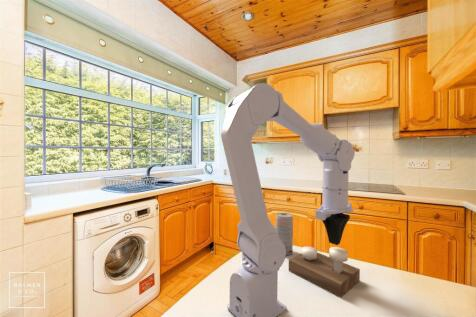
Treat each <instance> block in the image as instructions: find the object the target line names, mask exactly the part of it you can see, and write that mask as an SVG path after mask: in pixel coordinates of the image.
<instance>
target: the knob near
mask: <svg viewBox="0 0 476 317" xmlns="http://www.w3.org/2000/svg"><path fill="white" fill-rule="evenodd" d="M328 251H329V256H328V257H330V258H331V259H333V260H334V272H336V273H339V274H340V273H342V272H343V263H345V262H348V257H349V256H348V250H346V249H344V248H343V247H338V246H331V247H330V248H329V250H328Z"/></svg>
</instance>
